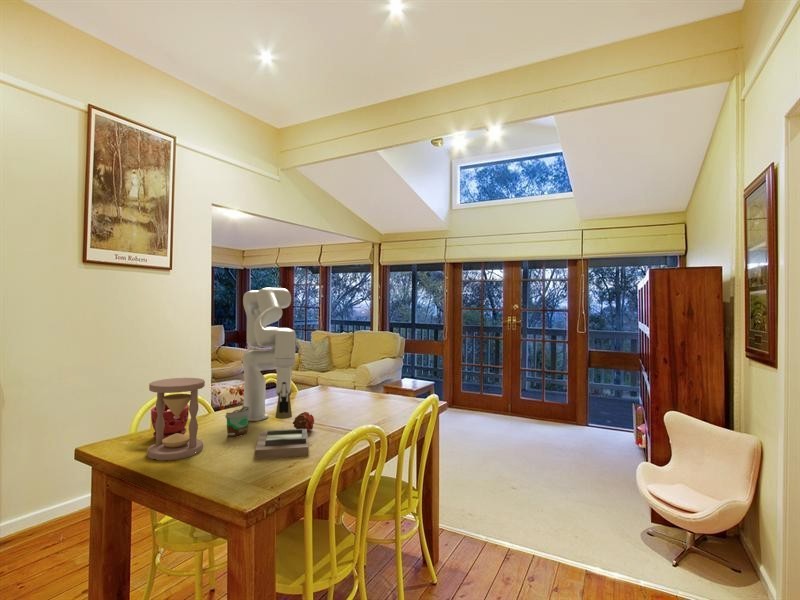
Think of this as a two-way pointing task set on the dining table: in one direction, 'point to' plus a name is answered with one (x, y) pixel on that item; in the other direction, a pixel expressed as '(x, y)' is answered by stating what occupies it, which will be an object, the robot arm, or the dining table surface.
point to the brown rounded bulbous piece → (284, 415)
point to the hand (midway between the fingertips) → (283, 410)
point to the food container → (237, 422)
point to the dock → (282, 443)
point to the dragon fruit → (304, 421)
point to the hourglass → (176, 443)
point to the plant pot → (171, 421)
